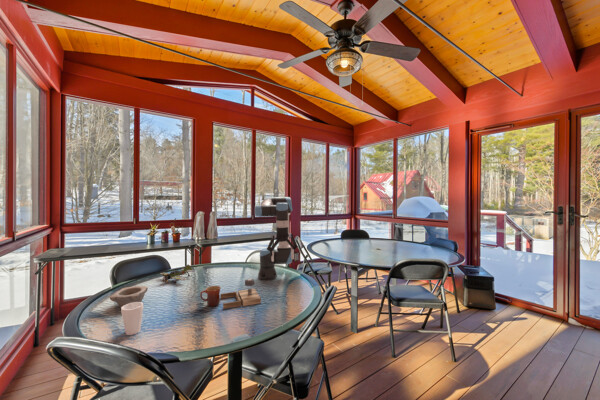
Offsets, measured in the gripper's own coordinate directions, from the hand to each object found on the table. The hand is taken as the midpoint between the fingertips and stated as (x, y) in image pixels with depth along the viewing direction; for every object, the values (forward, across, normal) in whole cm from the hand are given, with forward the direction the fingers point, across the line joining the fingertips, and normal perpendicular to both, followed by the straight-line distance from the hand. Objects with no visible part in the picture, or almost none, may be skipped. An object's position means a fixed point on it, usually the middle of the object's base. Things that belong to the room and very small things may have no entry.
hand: (282, 260), depth 171 cm
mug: (+26, -43, +10) cm, 51 cm away
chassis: (+25, -25, +10) cm, 37 cm away
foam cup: (+25, -82, -5) cm, 86 cm away
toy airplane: (+26, -62, +72) cm, 99 cm away
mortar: (+26, -89, +32) cm, 98 cm away
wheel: (+16, -19, +10) cm, 27 cm away
